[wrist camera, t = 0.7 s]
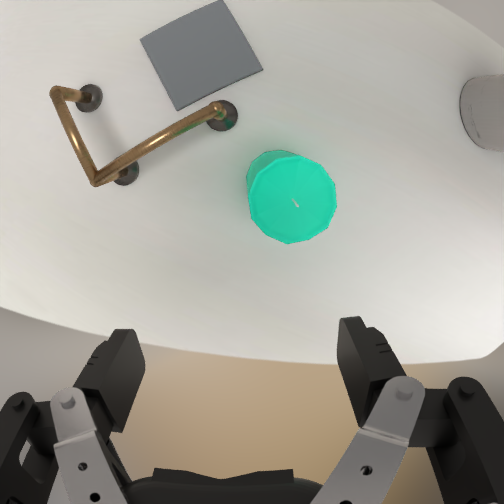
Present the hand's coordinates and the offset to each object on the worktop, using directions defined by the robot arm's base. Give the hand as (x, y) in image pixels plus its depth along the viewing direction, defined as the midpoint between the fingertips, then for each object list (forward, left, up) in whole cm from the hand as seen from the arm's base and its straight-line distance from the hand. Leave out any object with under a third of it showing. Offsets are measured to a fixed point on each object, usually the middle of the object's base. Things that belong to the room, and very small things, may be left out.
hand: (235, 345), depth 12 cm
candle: (-5, -2, -21) cm, 22 cm away
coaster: (-4, -17, -21) cm, 27 cm away
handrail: (+3, -14, -21) cm, 25 cm away
